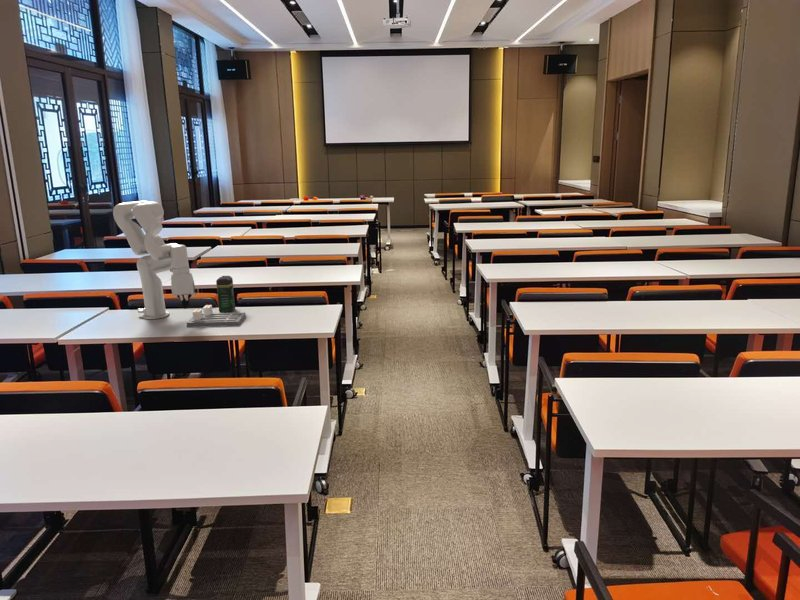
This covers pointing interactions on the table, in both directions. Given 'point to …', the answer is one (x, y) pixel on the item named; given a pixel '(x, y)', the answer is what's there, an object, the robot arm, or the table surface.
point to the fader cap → (197, 314)
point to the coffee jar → (225, 294)
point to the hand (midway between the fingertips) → (186, 307)
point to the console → (216, 318)
